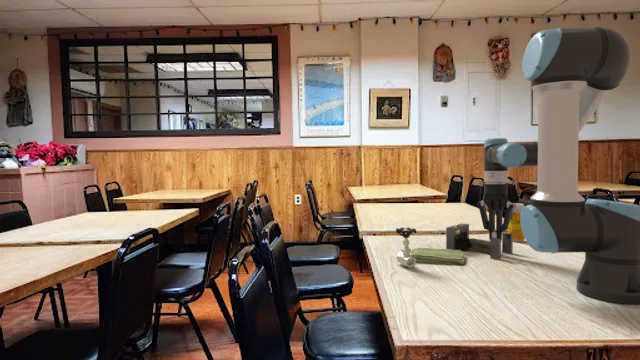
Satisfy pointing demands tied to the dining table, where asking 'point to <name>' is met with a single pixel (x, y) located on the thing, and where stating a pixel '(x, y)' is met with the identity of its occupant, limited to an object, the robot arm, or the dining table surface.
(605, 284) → the robot arm
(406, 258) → the valve
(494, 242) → the grey upright posts
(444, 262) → the washcloth
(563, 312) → the dining table surface
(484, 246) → the dark green flashlight
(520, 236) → the beer glass
